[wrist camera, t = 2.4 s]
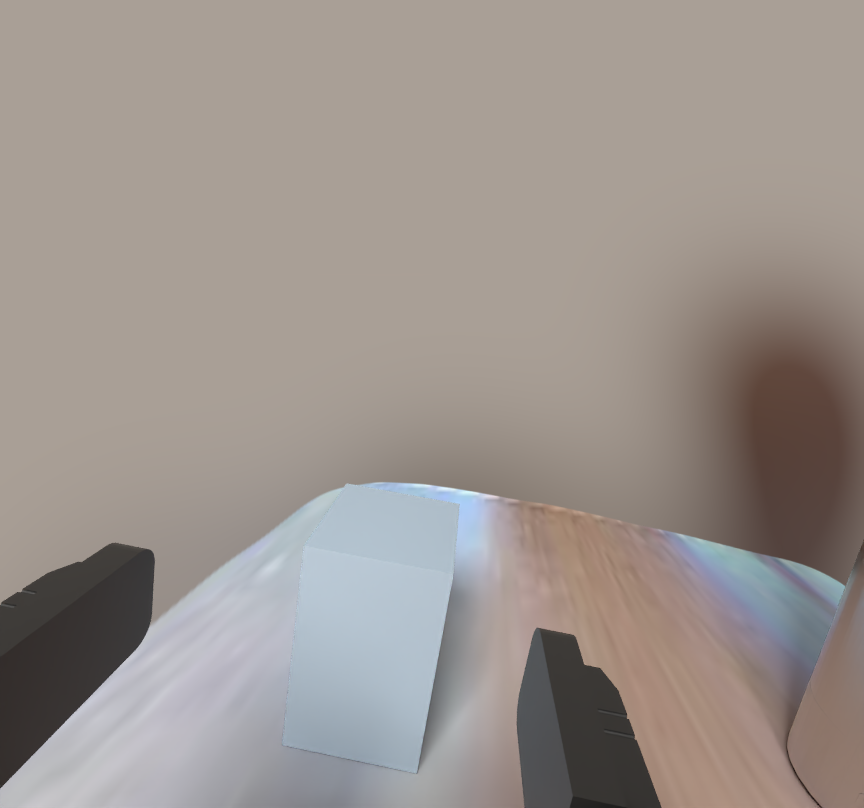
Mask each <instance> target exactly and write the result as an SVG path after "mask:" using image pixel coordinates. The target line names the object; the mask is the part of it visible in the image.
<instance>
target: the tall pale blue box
mask: <svg viewBox="0 0 864 808" xmlns="http://www.w3.org/2000/svg"><path fill="white" fill-rule="evenodd" d="M459 505H460V504H456V503H451V502H445V501H440V500H434V499H429V498H424V497H418V496H413V495H407V494H402V493H396V492H391V491H385V490H380V489H374V488H369V487H363V486H358V485H352V484H346V486H345V487H344V488H343V490H342V491H341V492H340V494H339V495H338V497H337V498H336V500H335V501H334V503H333V504H332V506H331V507H330V508H329V510H328V511H327V513H326V514H325V516H324V517H323V519H322V520H321V521H320V523H319V524H318V526H317V527H316V529H315V530H314V532H313V533H312V534H311V536H310V537H309V539H308V540H307V542H306V543H305V545H304V548H303V557H302V566H301V575H300V584H299V594H298V603H297V612H296V621H295V630H294V639H293V648H292V658H291V667H290V676H289V685H288V694H287V703H286V712H285V722H284V731H283V740H282V745H283V746H288V747H293V748H298V749H302V750H307V751H312V752H317V753H321V754H326V755H331V756H336V757H340V758H345V759H350V760H355V761H359V762H364V763H369V764H374V765H378V766H383V767H388V768H393V769H397V770H402V771H407V772H412V773H416V774H417V770H418V764H419V759H420V754H421V748H422V743H423V737H424V732H425V726H426V721H427V716H428V710H429V705H430V699H431V694H432V688H433V683H434V678H435V672H436V667H437V661H438V656H439V650H440V645H441V640H442V634H443V629H444V623H445V618H446V612H447V607H448V602H449V596H450V591H451V585H452V580H453V575H454V563H455V552H456V540H457V528H458V516H459Z"/></svg>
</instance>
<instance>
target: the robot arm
mask: <svg viewBox="0 0 864 808" xmlns="http://www.w3.org/2000/svg"><path fill="white" fill-rule="evenodd" d="M154 564H155V559H154V554H153V552H152V551H151V550H149V549H144V548H139V547H134V546H129V545H124V544H119V543H111V544H109V545H108V546H106V547H104V548H103V549H101V550H100V551H98V552H97V553H95V554H94V555H92V556H91V557H89V558H87V559H86V560H85V561H83V562H76V563H74V564H71V565H68V566H66V567H63V568H60V569H57V570H55V571H52V572H50V573H47V574H45V575H44V576H42V577H41V578H39V579H38V580H36V581H34V582H33V583H31V584H30V585H28V586H26V587H25V588H23V590H22V592H21V593H20V592H17V593H16V594H14V595H12V596H11V597H9V598H8V599H6V600H5V601H3V602H2V603H1V605H0V788H1V787H2V786H3V785H4V784H5V783H6V782H7V781H8V780H9V779H10V778H11V777H12V776H13V775H14V774H15V773H16V772H17V771H18V770H19V769H20V768H21V767H22V766H23V765H24V764H25V762H26V761H27V760H28V759H29V758H30V757H31V756H32V755H33V754H34V753H35V752H36V751H37V750H38V749H39V748H40V747H41V746H42V745H43V744H44V743H45V742H46V741H47V740H48V739H49V738H50V737H51V736H52V735H53V734H54V733H55V732H56V731H57V730H58V729H59V728H60V727H61V726H62V725H63V724H64V723H65V721H66V720H67V719H68V718H69V717H70V716H71V715H72V714H73V713H74V712H75V711H76V710H77V709H78V708H79V707H80V706H81V705H82V704H83V703H84V702H85V701H86V700H87V699H88V698H89V697H90V696H91V695H92V694H93V693H94V692H95V691H96V690H97V689H98V688H99V687H100V686H101V685H102V684H103V683H104V682H105V680H106V679H107V678H108V677H109V676H110V675H111V674H112V673H113V672H114V671H115V670H116V669H117V668H118V667H119V666H120V665H121V664H122V663H123V662H124V661H125V660H126V659H127V658H128V657H129V656H130V655H131V654H132V653H133V652H134V651H135V650H136V649H137V647H138V646H139V645H140V644H141V642H142V640H143V639H144V637H145V635H146V633H147V631H148V628H149V625H150V622H151V615H152V601H153V583H154ZM517 734H518V744H519V754H520V764H521V774H522V785H523V795H524V805H525V808H661V805H660V802H659V800H658V797H657V794H656V792H655V789H654V786H653V783H652V781H651V778H650V775H649V773H648V770H647V767H646V764H645V762H644V759H643V756H642V754H641V751H640V748H639V745H638V743H637V740H635V739H634V732H633V729H632V726H631V724H630V721H629V719H627V713H626V710H625V707H624V705H623V702H622V699H621V697H620V694H619V691H618V690H617V688H616V687H615V686H614V685H613V683H612V682H611V681H610V680H609V679H608V677H607V676H606V675H605V674H604V672H603V671H602V670H601V669H600V668H597V667H592V666H587V665H584V663H583V659H582V656H581V653H580V649H579V646H578V643H577V640H576V637H575V636H574V635H571V634H566V633H561V632H556V631H551V630H546V629H541V628H536V630H535V632H534V634H533V638H532V642H531V646H530V650H529V655H528V659H527V663H526V667H525V672H524V676H523V680H522V684H521V689H520V693H519V699H518V707H517ZM787 749H788V753H789V758H790V761H791V763H792V765H793V767H794V769H795V771H796V773H797V775H798V777H799V778H800V780H801V781H802V783H803V784H804V785H805V787H806V788H807V790H808V791H809V793H810V794H811V795H812V796H813V798H814V799H815V800H816V801H817V802H818V803H819V804H820V805H821V807H822V808H864V540H863V543H862V545H861V548H860V550H859V553H858V556H857V558H856V561H855V563H854V566H853V569H852V571H851V574H850V576H849V579H848V582H847V584H846V587H845V589H844V592H843V595H842V597H841V600H840V603H839V605H838V608H837V610H836V613H835V616H834V618H833V621H832V623H831V626H830V629H829V631H828V634H827V637H826V639H825V642H824V644H823V647H822V650H821V652H820V655H819V657H818V660H817V663H816V665H815V668H814V670H813V673H812V675H811V677H810V680H809V682H808V685H807V688H806V690H805V693H804V696H803V698H802V701H801V704H800V706H799V709H798V712H797V714H796V717H795V719H794V722H793V725H792V727H791V730H790V733H789V735H788V742H787Z"/></svg>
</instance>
